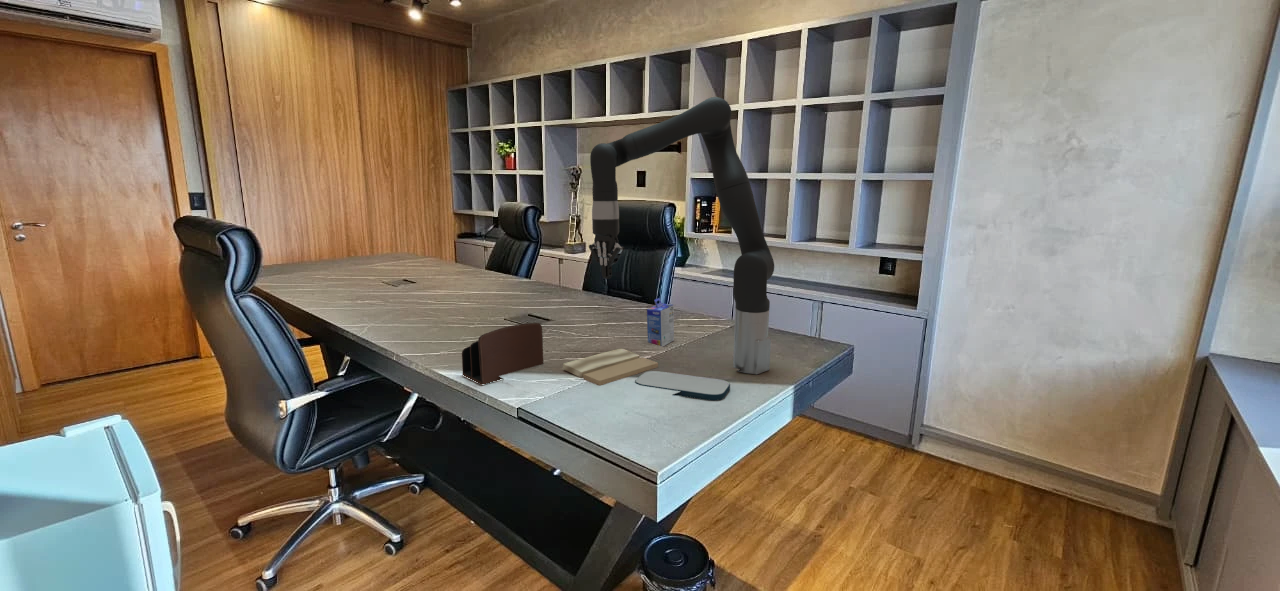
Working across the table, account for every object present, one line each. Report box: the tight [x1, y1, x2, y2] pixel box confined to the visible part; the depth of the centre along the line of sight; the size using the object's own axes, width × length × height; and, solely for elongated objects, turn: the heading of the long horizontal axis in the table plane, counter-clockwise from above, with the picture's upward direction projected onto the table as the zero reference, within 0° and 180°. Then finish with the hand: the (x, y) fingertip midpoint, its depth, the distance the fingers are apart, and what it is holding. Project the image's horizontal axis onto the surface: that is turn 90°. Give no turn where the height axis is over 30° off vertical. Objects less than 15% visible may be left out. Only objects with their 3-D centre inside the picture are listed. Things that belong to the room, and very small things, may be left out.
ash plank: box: [562, 348, 641, 379], centre depth 160 cm, size 8×21×2 cm, turn 134°
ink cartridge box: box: [646, 297, 675, 347], centre depth 186 cm, size 10×6×14 cm, turn 152°
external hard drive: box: [634, 370, 731, 402], centre depth 147 cm, size 24×12×2 cm, turn 68°
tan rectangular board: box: [583, 357, 659, 386], centre depth 158 cm, size 16×23×2 cm
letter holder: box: [461, 322, 544, 385], centre depth 157 cm, size 10×20×14 cm, turn 136°
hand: (606, 278), depth 165 cm, fingers closed
